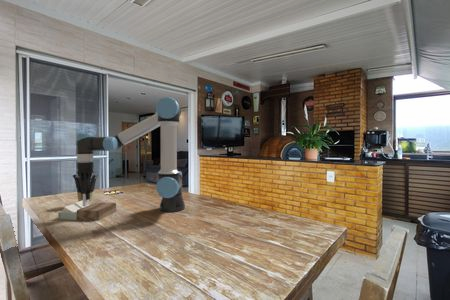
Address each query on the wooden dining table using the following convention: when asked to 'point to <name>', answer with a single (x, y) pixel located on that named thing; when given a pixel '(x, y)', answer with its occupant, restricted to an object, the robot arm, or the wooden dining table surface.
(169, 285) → the wooden dining table surface
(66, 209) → the tile
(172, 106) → the robot arm
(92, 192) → the coffee cup
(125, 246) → the wooden dining table surface
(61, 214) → the tray
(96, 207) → the board
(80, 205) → the tile
